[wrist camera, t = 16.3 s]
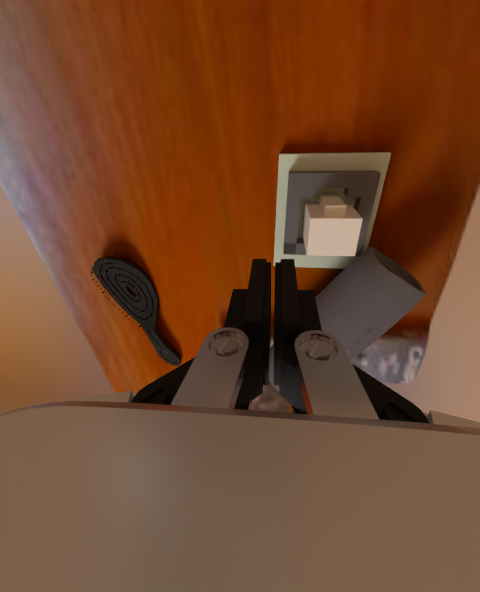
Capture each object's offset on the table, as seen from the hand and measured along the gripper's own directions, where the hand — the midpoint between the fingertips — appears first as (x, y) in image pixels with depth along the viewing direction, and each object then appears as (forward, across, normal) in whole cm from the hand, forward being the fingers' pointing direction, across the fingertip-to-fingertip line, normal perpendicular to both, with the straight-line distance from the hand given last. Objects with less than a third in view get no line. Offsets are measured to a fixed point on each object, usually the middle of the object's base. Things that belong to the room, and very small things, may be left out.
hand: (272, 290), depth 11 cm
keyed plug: (+24, -6, +5) cm, 26 cm away
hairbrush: (+26, +22, +23) cm, 41 cm away
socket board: (+26, -6, +5) cm, 27 cm away
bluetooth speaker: (+25, -7, +19) cm, 32 cm away
